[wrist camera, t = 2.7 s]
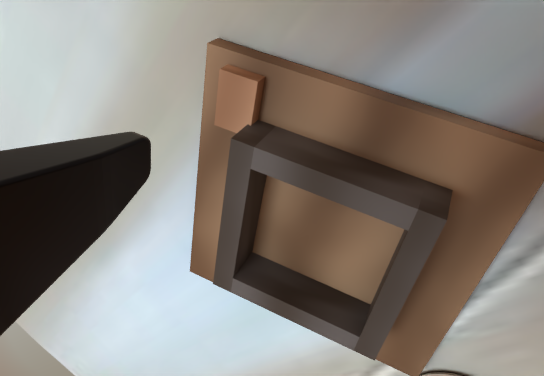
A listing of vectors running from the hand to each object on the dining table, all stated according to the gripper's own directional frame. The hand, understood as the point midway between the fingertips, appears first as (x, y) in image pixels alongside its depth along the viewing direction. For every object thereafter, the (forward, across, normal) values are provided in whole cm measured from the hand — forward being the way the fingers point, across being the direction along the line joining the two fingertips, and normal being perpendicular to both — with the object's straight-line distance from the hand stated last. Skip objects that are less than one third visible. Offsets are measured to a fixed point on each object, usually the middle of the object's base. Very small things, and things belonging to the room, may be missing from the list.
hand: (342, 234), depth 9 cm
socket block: (+13, +2, +10) cm, 17 cm away
